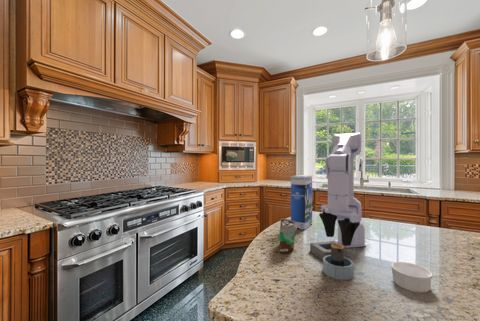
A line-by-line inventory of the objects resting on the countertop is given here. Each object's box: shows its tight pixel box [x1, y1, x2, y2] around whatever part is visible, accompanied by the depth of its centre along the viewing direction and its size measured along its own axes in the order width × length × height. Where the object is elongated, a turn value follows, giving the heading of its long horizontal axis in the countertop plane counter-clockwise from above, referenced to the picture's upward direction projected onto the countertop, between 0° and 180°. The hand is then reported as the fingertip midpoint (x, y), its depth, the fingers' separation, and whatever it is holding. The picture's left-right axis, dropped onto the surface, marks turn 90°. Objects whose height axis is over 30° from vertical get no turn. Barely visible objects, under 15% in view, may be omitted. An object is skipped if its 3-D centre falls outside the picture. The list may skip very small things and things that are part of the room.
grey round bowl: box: [322, 255, 355, 281], centre depth 68 cm, size 8×8×4 cm
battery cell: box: [331, 241, 345, 266], centre depth 68 cm, size 4×4×8 cm
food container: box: [279, 218, 298, 255], centre depth 86 cm, size 12×6×10 cm, turn 168°
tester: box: [309, 240, 349, 261], centre depth 80 cm, size 9×9×3 cm
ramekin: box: [390, 261, 433, 294], centre depth 61 cm, size 9×9×4 cm
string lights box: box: [290, 174, 313, 230], centre depth 117 cm, size 13×8×26 cm, turn 147°
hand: (337, 240), depth 68 cm, fingers open, 7 cm apart
